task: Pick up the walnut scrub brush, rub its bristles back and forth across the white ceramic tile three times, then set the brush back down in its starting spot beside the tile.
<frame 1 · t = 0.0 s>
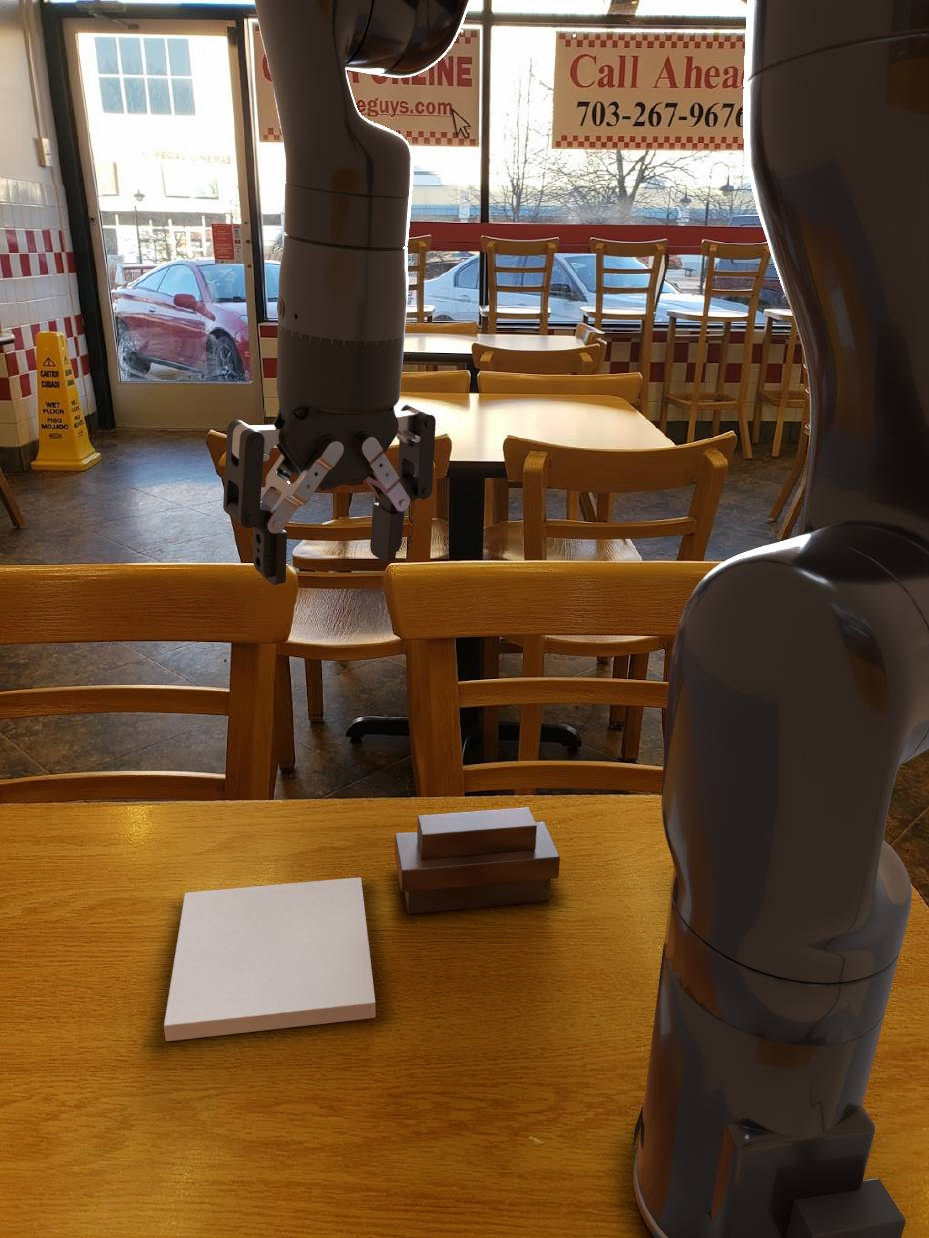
hand: (330, 568, 63), 22 cm above the table, tool pointing down, fingers open, 8 cm apart
tile: (274, 958, 60), on the table
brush: (474, 889, 67), on the table
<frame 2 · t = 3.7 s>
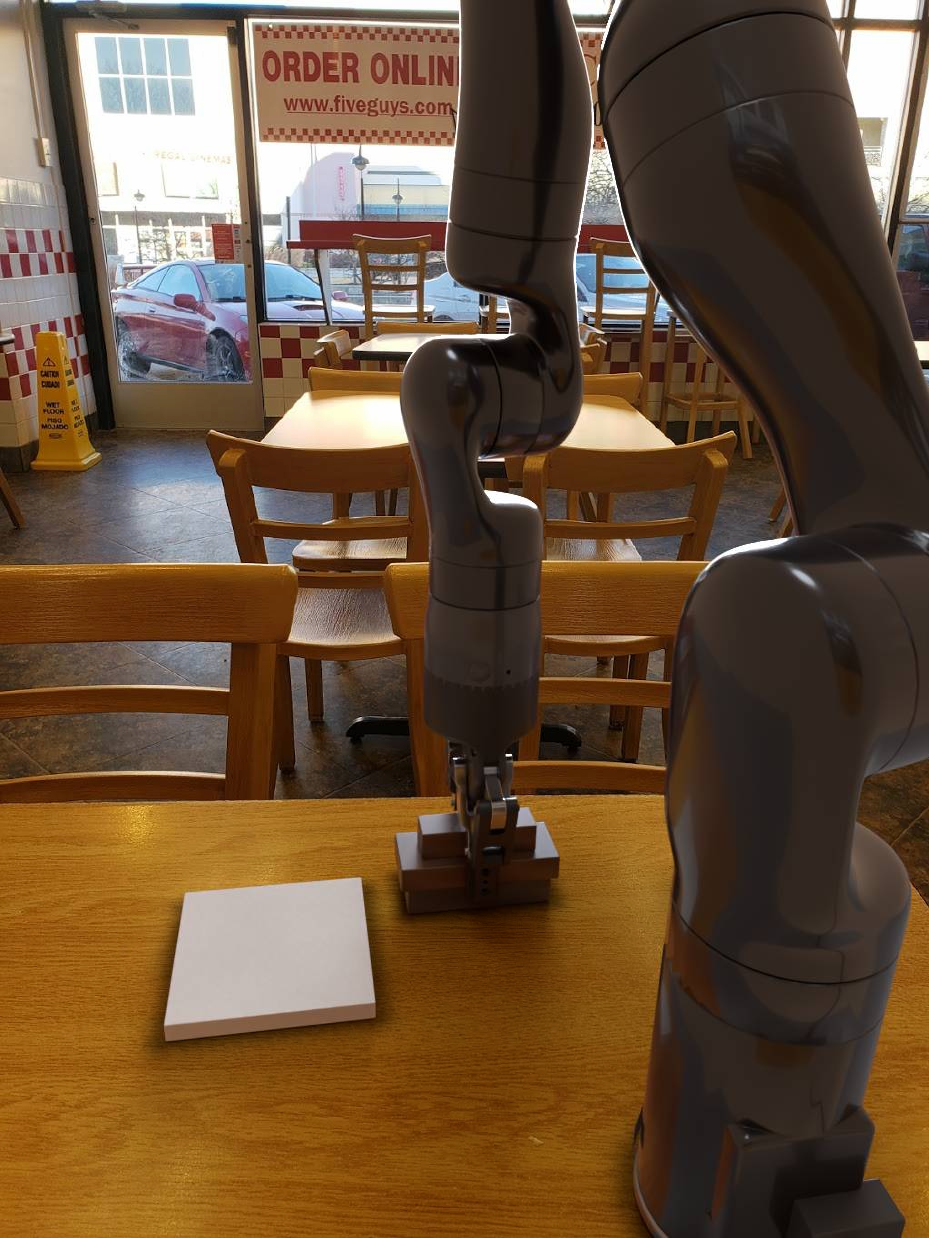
hand: (474, 876, 67), 1 cm above the table, tool pointing down, fingers closed on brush, 4 cm apart
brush: (474, 889, 67), on the table, touching gripper
everything else where it was.
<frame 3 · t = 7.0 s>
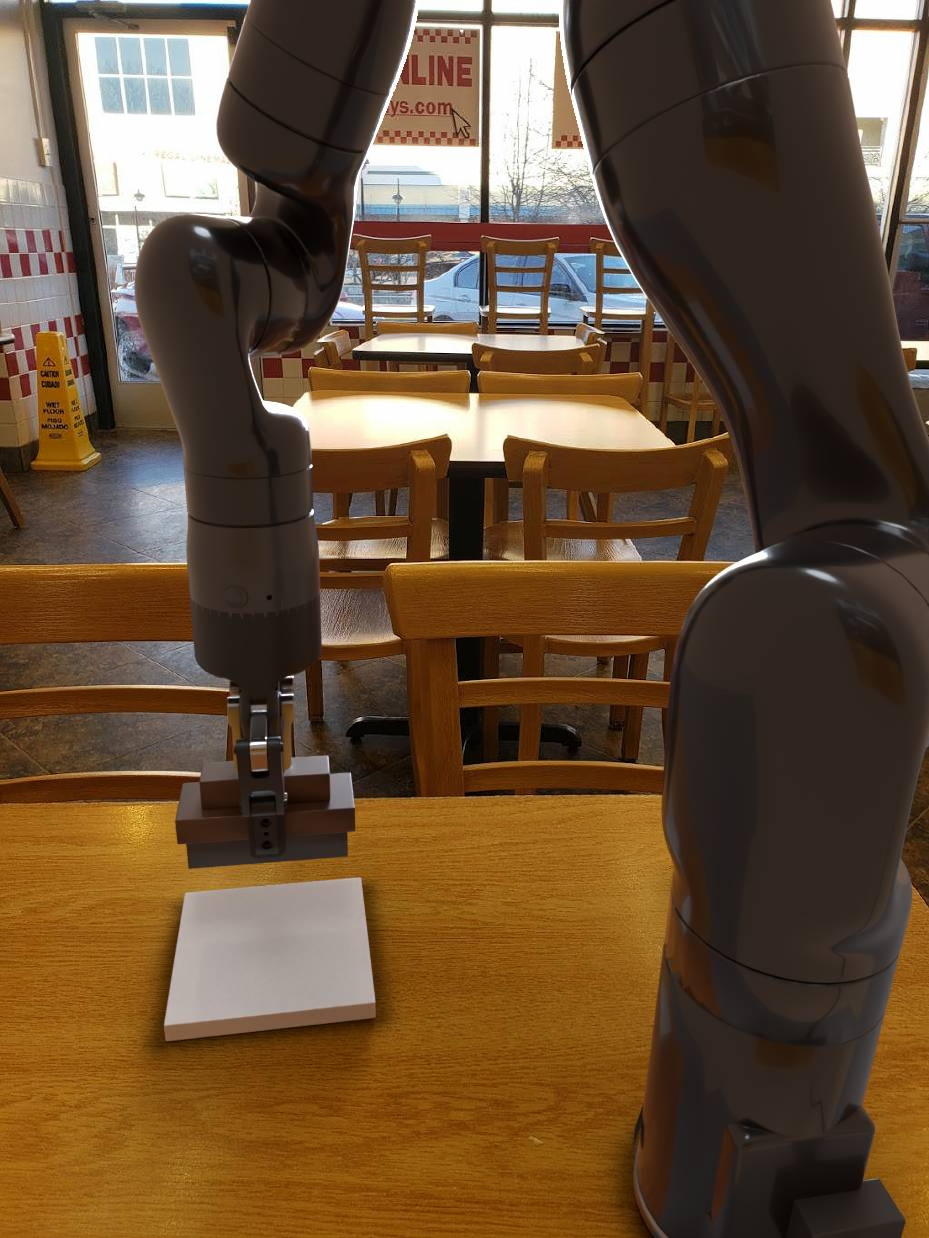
hand: (269, 830, 61), 7 cm above the table, tool pointing down, fingers closed on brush, 4 cm apart
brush: (269, 844, 62), point 6 cm above the table, touching gripper
everything else where it was.
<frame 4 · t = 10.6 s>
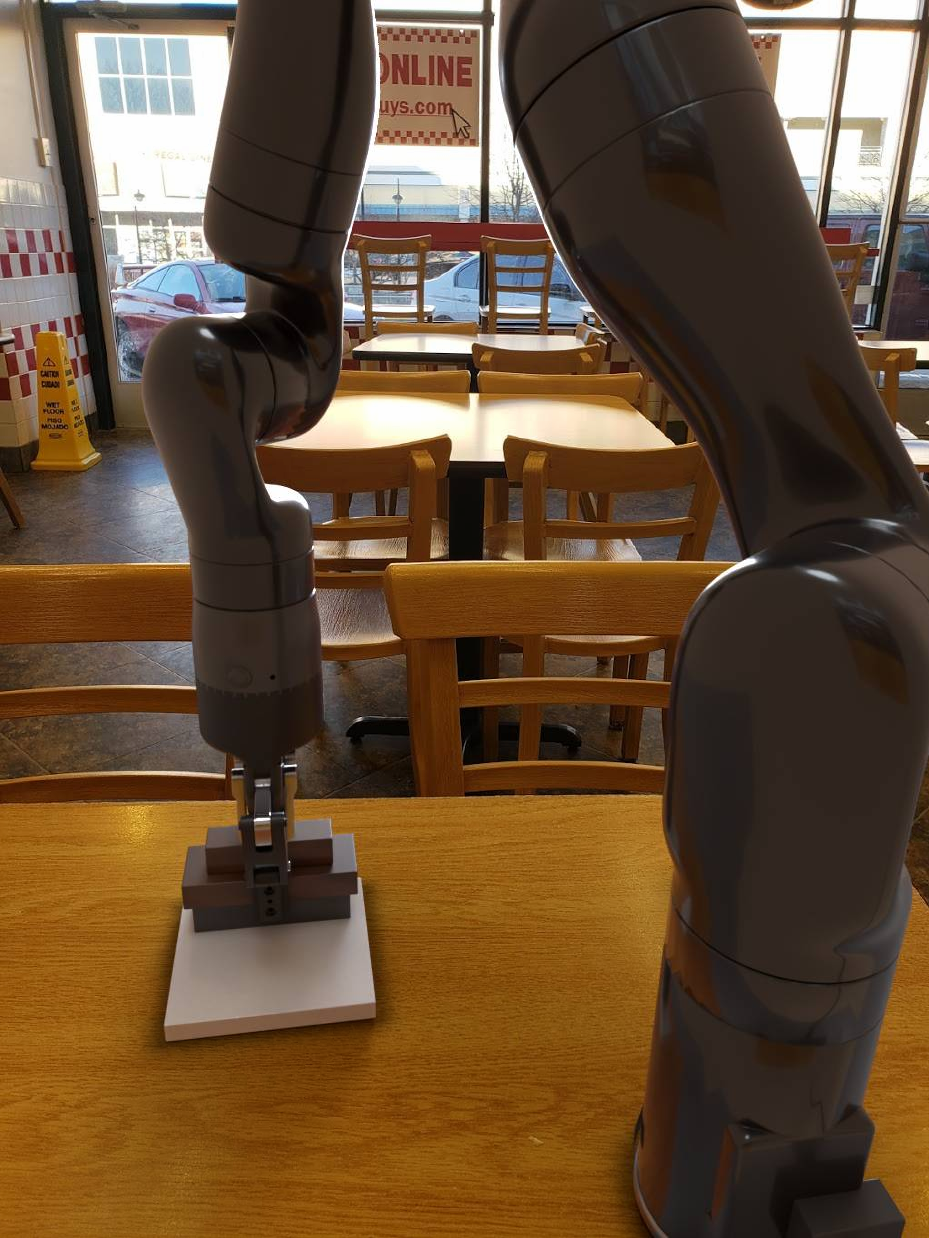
hand: (272, 893, 63), 2 cm above the table, tool pointing down, fingers closed on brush, 4 cm apart
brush: (274, 905, 63), point 1 cm above the table, touching gripper
everything else where it was.
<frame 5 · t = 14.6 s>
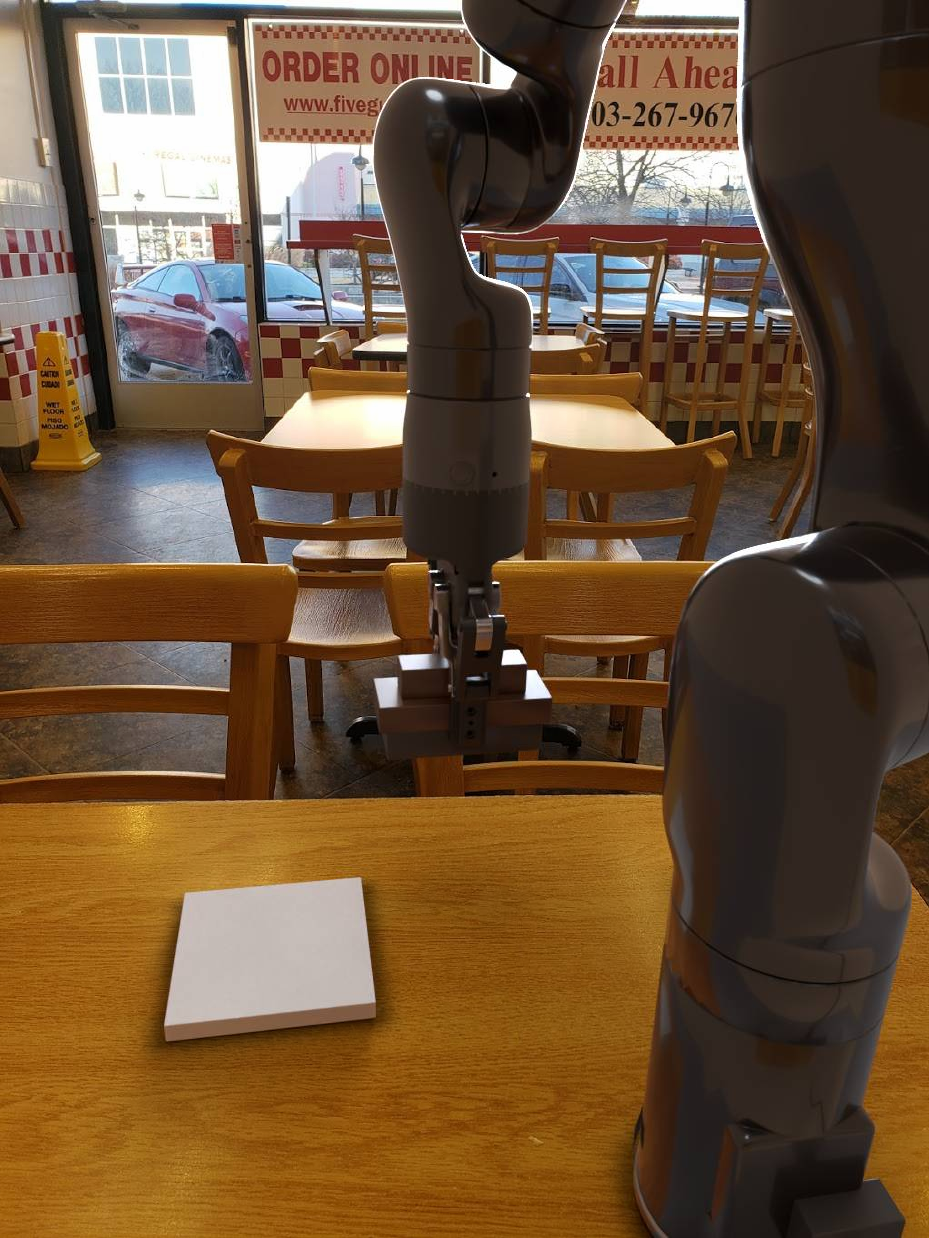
hand: (459, 727, 61), 13 cm above the table, tool pointing down, fingers closed on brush, 4 cm apart
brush: (459, 740, 62), point 13 cm above the table, touching gripper
everything else where it was.
when the fingers open (1 cm above the table, at t = 17.8 s): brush stays where it is, on the table.
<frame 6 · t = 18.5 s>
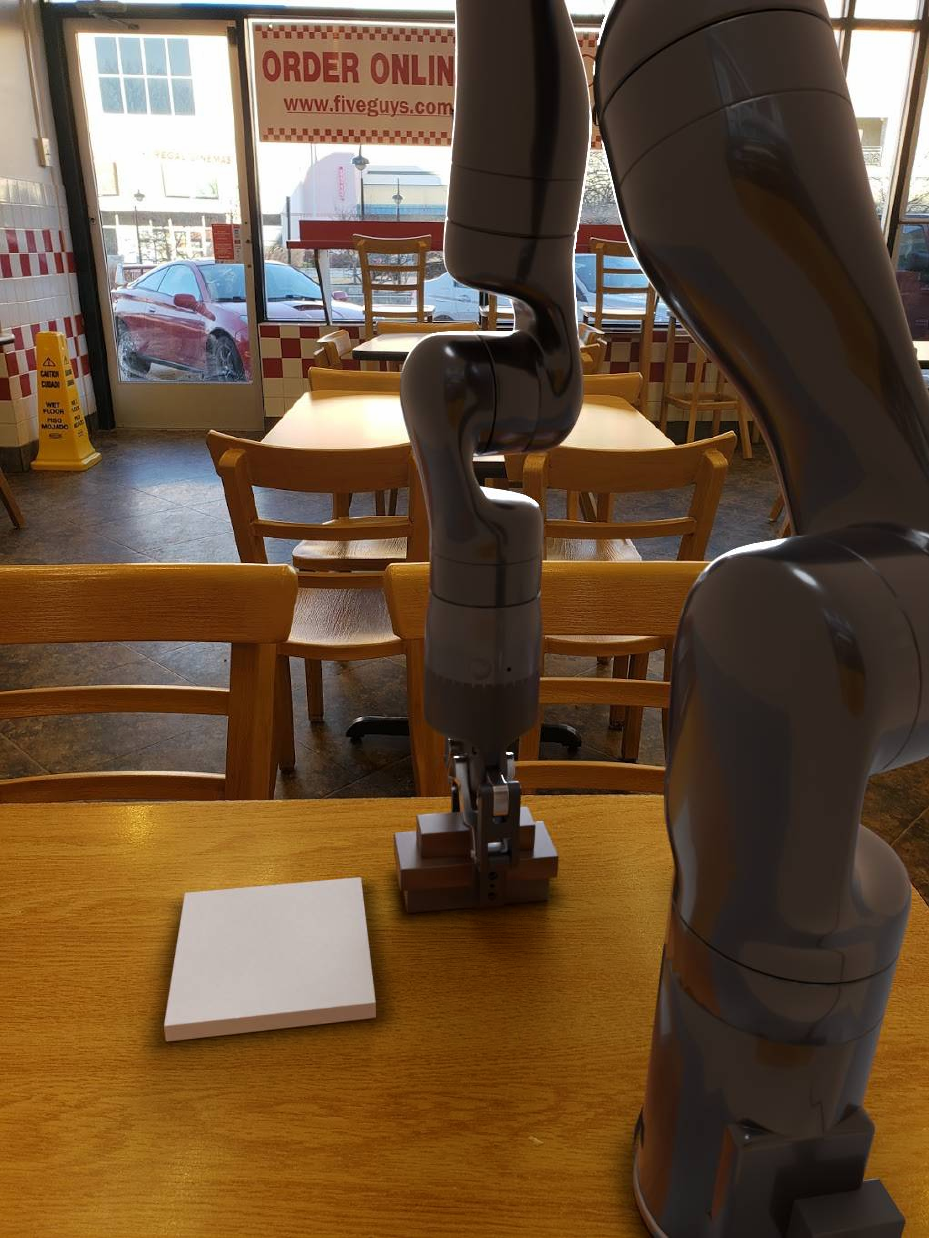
hand: (476, 865, 66), 2 cm above the table, tool pointing down, fingers open, 8 cm apart
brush: (473, 888, 67), on the table
everything else where it was.
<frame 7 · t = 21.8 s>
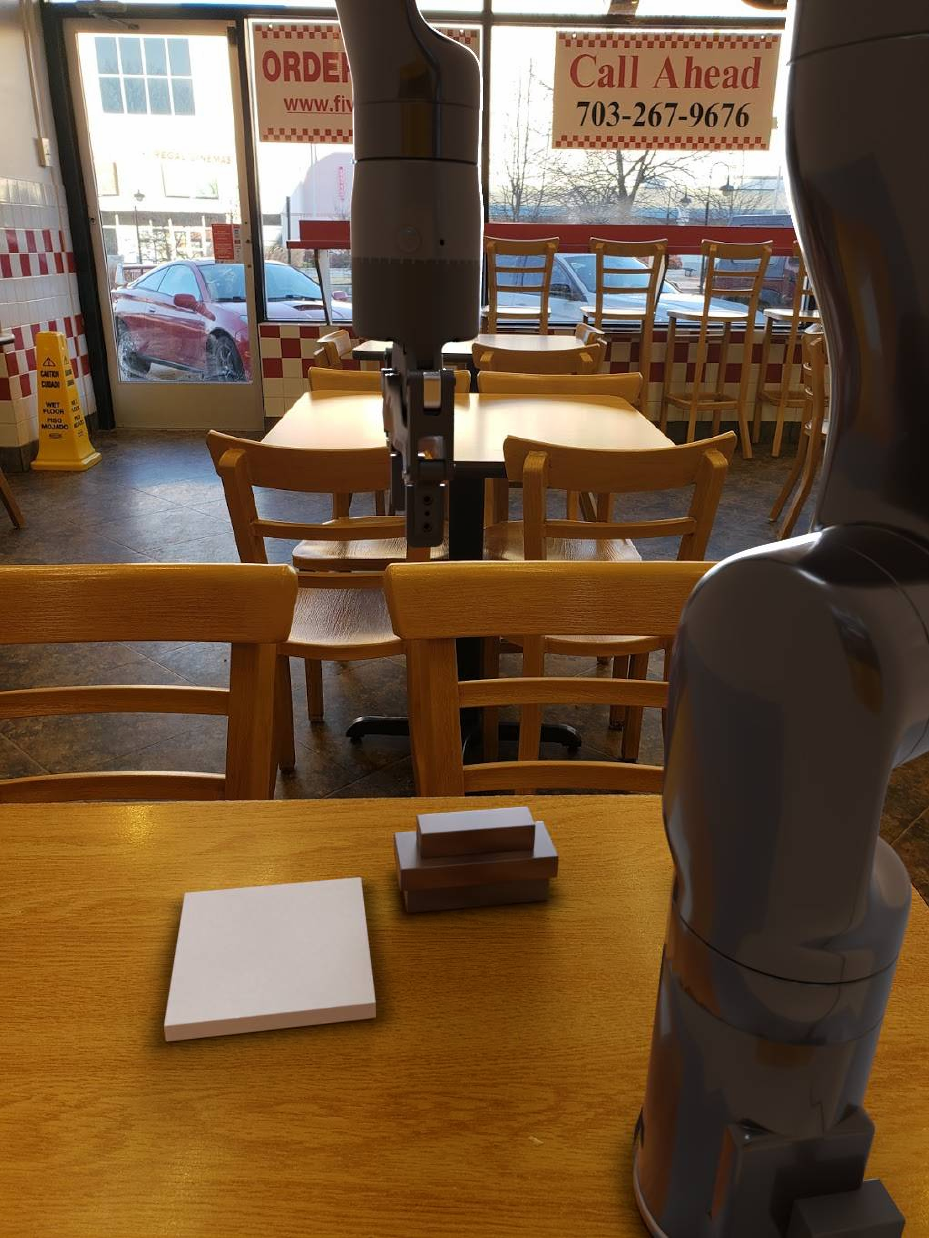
hand: (415, 526, 60), 26 cm above the table, tool pointing down, fingers open, 8 cm apart
nothing on the table moved.
at the end: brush inside the target area (0.1 cm from its centre), on the table; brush tilted 0°; tile moved 0.0 cm from its start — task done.
